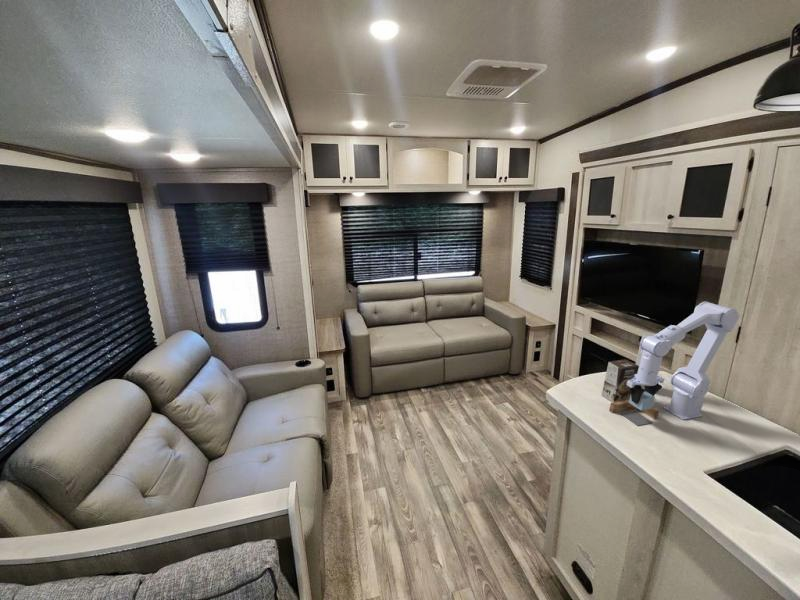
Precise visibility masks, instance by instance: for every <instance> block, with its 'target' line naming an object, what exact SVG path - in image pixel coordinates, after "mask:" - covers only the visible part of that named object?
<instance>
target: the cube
mask: <svg viewBox="0 0 800 600" xmlns="http://www.w3.org/2000/svg"><path fill="white" fill-rule="evenodd" d="M655 397H656V396H655V395H654V396H653V395H651V394H649V393H648V392H646V391H645V392H644V393H643V394H642V396H641V398H640V401H639V403H638V404H636V403H634V402H633V401H632V399H631V396H630V400H629V403H630V404H632V405H633V406H635V407H636V408H637V409H638V410H639V411H641V412H642V410H647V409H652V407H654V406H653V405H654V402H655V399H656V398H655Z"/></svg>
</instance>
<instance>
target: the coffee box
mask: <svg viewBox="0 0 800 600" xmlns="http://www.w3.org/2000/svg"><path fill="white" fill-rule="evenodd" d="M638 368H639V366H638V365H636V363H634V362H632V361H629V360H628V359H626V358H625V359H619V360H612V361H608V363H607V367H606V371H605V372H606V373H605V377H604V382H603V386H602V390H601V396H602V397H603V398H605V399H607V400H608V401H609V402H611V403H613V402H619V401H625V400H630V396H631V392H630V389H629V387H628V386H627V381H628V380H631V379H633V378H634V377H635V376H634V375H635V374H637V372H638Z"/></svg>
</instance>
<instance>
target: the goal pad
mask: <svg viewBox="0 0 800 600" xmlns="http://www.w3.org/2000/svg"><path fill="white" fill-rule="evenodd" d="M620 415H621V416H623V417H624V418H625V419H627V420H629V422H631V423H633V424H634V425H635V426H637V427H640V426H646V425H648V424H653V423H654V422H653V421H651V420H650V419H649V418H647V417H645V416H644V415H643V414H642V413H639V411H636V410H633V411H628V412H623V413H621V414H620Z"/></svg>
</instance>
